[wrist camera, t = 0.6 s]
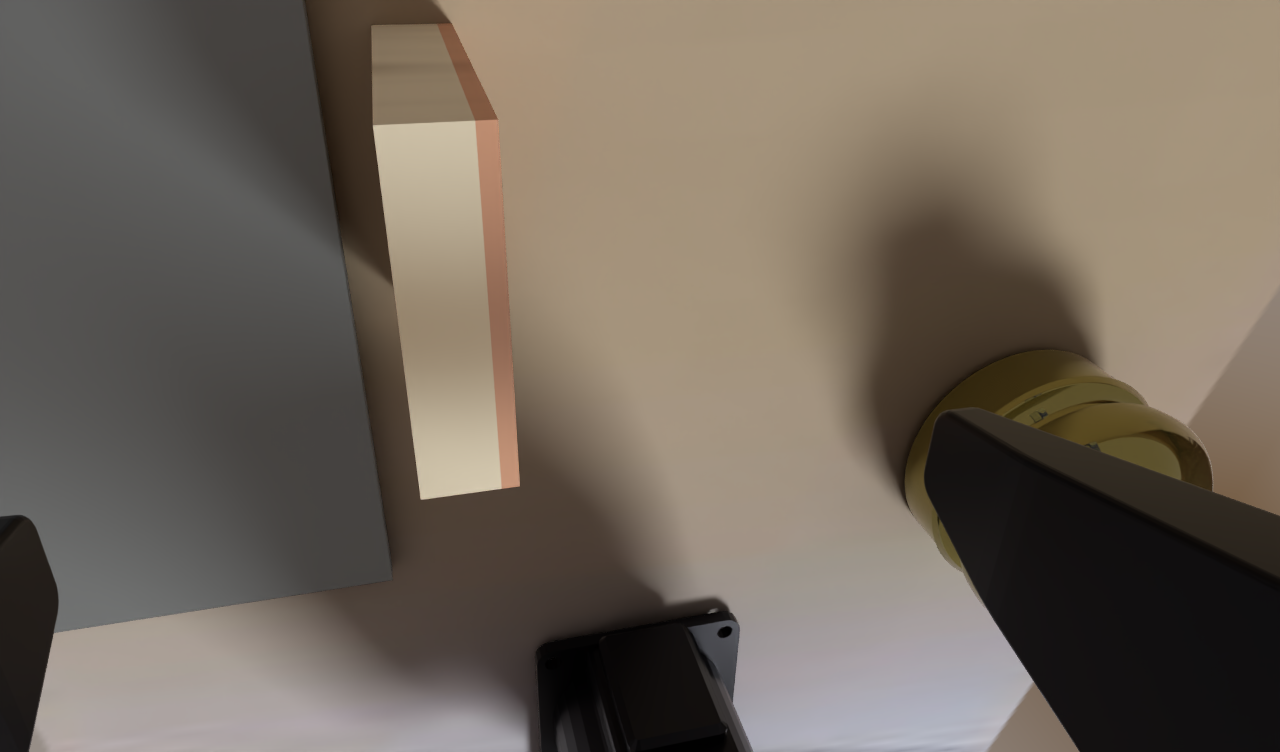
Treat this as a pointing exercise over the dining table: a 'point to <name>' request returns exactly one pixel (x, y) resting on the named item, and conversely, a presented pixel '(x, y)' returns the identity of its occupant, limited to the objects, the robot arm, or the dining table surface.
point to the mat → (177, 311)
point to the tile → (446, 257)
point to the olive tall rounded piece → (1061, 424)
